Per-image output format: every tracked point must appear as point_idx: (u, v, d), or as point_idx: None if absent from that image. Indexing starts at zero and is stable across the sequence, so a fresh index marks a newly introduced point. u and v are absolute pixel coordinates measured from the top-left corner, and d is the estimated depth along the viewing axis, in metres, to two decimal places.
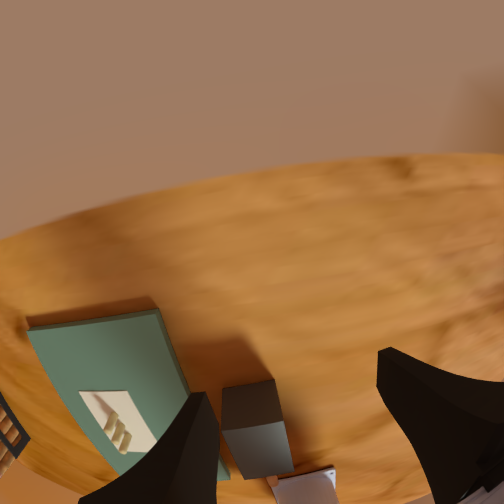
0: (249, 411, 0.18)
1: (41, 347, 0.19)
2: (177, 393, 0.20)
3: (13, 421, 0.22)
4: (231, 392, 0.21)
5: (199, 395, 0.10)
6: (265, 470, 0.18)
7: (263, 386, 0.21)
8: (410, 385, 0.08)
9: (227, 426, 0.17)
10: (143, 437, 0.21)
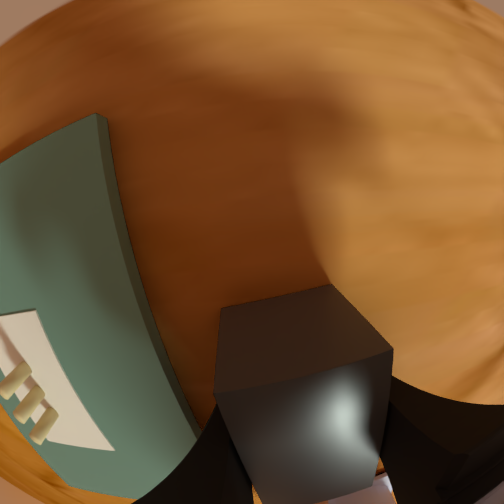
0: (291, 340, 0.08)
1: None
2: (122, 313, 0.10)
3: None
4: (241, 311, 0.10)
5: None
6: (316, 492, 0.07)
7: (311, 295, 0.10)
8: None
9: (232, 380, 0.06)
10: (75, 418, 0.11)
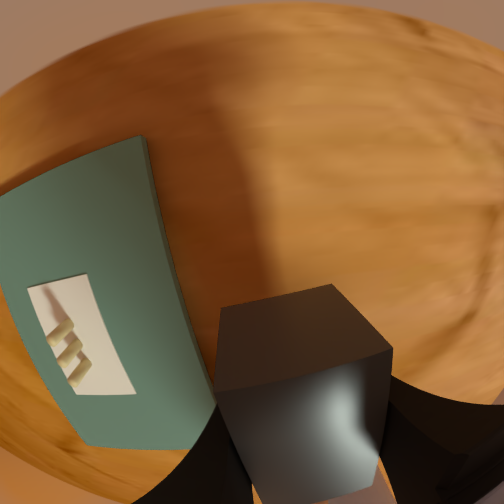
0: (291, 339, 0.08)
1: None
2: (157, 271, 0.15)
3: None
4: (241, 310, 0.10)
5: None
6: (316, 492, 0.07)
7: (311, 295, 0.10)
8: None
9: (232, 379, 0.06)
10: (106, 365, 0.16)
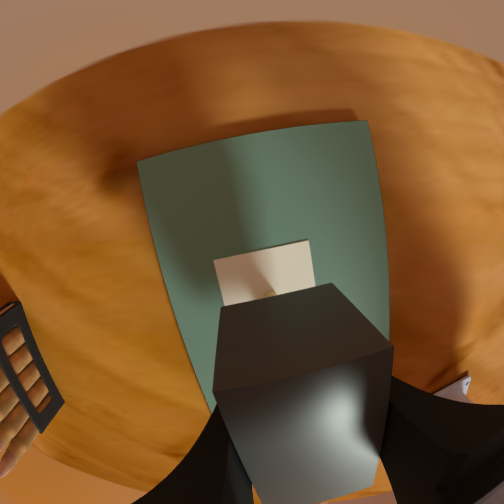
0: (290, 338, 0.08)
1: (160, 185, 0.15)
2: (376, 237, 0.17)
3: (41, 371, 0.18)
4: (241, 309, 0.10)
5: None
6: (316, 491, 0.07)
7: (311, 294, 0.10)
8: None
9: (231, 378, 0.06)
10: None
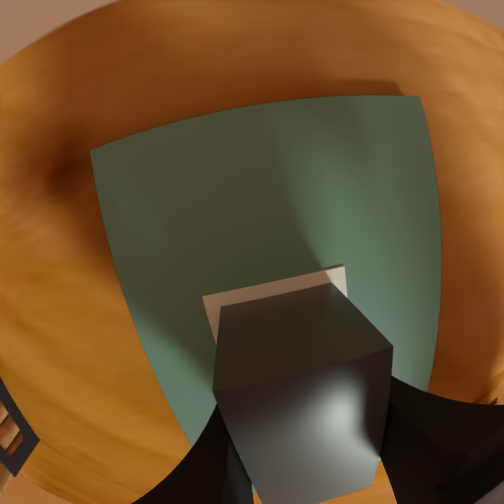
0: (290, 338, 0.08)
1: (121, 184, 0.10)
2: (430, 258, 0.11)
3: (9, 409, 0.12)
4: (241, 309, 0.10)
5: None
6: (316, 491, 0.07)
7: (311, 293, 0.10)
8: None
9: (231, 377, 0.06)
10: None
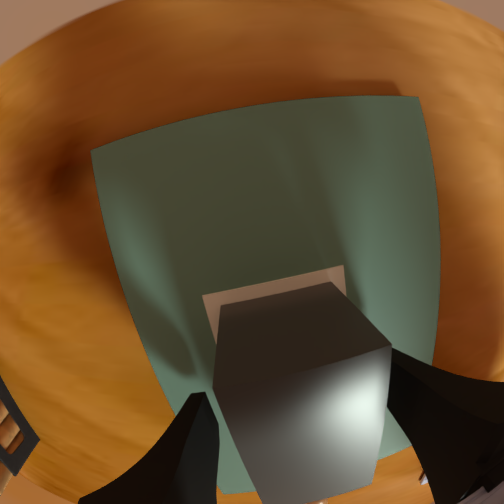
0: (290, 336, 0.08)
1: (122, 183, 0.10)
2: (429, 258, 0.11)
3: (9, 408, 0.12)
4: (240, 308, 0.10)
5: (199, 395, 0.10)
6: (315, 489, 0.07)
7: (311, 292, 0.10)
8: (410, 385, 0.08)
9: (231, 375, 0.06)
10: None
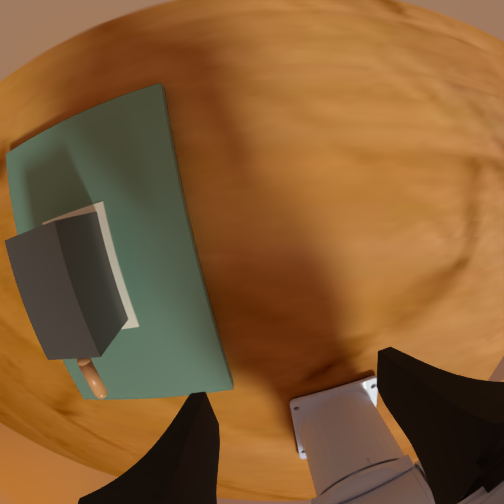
0: None
1: (16, 169, 0.15)
2: (168, 194, 0.16)
3: None
4: None
5: (199, 395, 0.10)
6: (61, 340, 0.13)
7: None
8: (410, 385, 0.08)
9: (13, 237, 0.12)
10: None
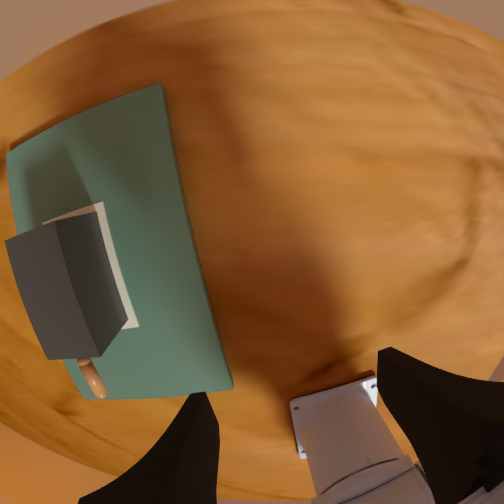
0: None
1: (16, 169, 0.15)
2: (168, 194, 0.16)
3: None
4: None
5: (199, 395, 0.10)
6: (61, 340, 0.13)
7: None
8: (410, 385, 0.08)
9: (13, 237, 0.12)
10: None
